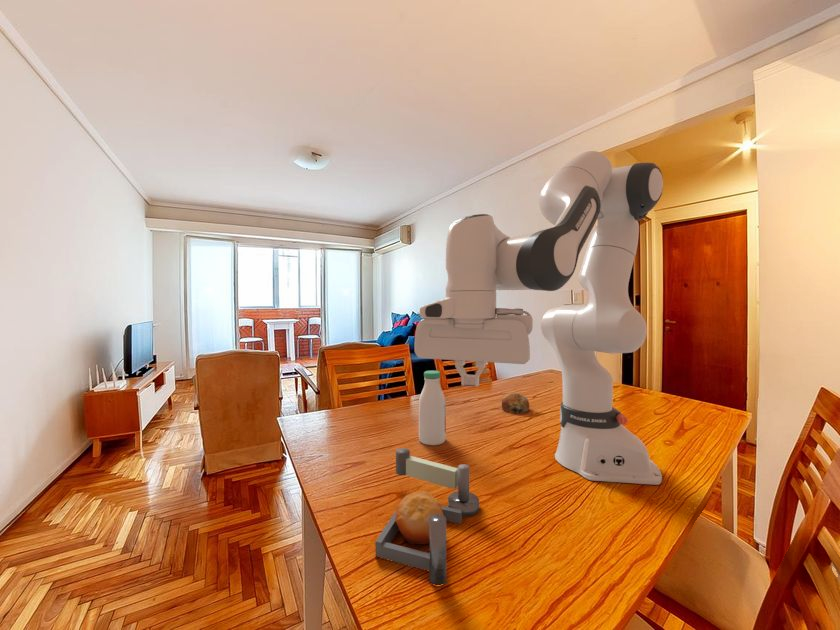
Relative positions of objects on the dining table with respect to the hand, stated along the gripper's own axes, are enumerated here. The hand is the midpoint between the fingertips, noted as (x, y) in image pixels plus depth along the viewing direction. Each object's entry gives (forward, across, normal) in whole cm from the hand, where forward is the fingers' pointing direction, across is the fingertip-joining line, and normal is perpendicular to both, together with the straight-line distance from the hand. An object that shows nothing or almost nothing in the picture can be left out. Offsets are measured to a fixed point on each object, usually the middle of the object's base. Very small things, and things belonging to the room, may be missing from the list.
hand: (470, 385), depth 60 cm
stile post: (+25, +2, +14) cm, 29 cm away
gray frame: (+25, +7, +6) cm, 27 cm away
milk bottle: (+25, +17, -32) cm, 44 cm away
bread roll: (+26, -4, -68) cm, 73 cm away
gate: (+23, +9, -5) cm, 26 cm away
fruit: (+25, +7, +6) cm, 27 cm away
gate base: (+25, +2, -4) cm, 25 cm away
